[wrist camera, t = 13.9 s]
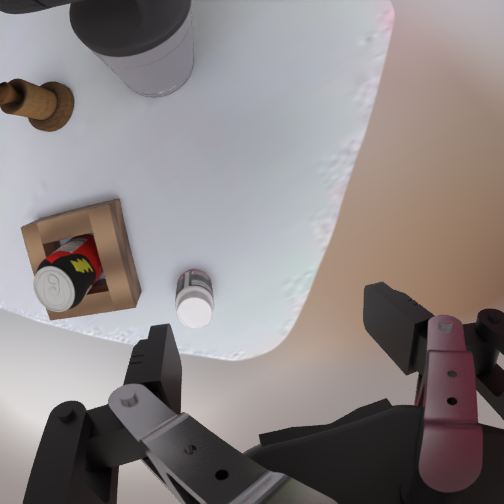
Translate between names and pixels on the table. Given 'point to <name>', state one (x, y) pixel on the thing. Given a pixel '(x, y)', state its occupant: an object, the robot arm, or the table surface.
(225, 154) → the table surface
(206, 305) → the pill bottle
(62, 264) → the beverage can
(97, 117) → the table surface
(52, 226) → the socket block
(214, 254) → the table surface
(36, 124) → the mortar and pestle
